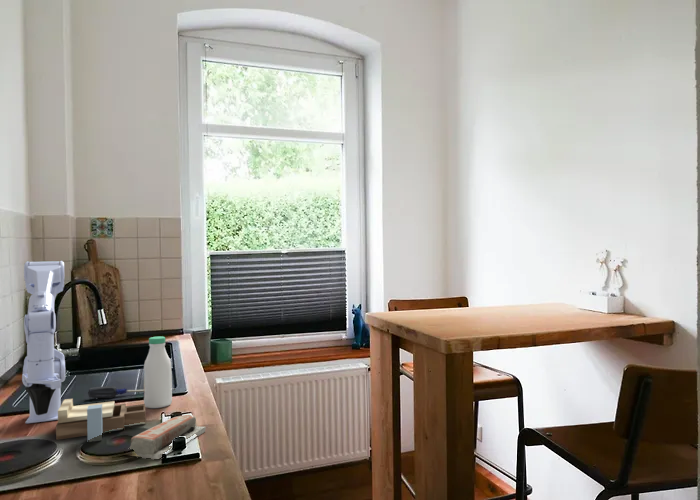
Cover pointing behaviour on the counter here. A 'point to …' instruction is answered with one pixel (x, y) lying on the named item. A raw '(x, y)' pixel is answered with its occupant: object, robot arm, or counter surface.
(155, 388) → the milk bottle
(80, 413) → the lid
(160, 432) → the packaged product
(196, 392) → the counter surface
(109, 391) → the screwdriver
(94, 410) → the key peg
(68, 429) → the wooden compartment box
